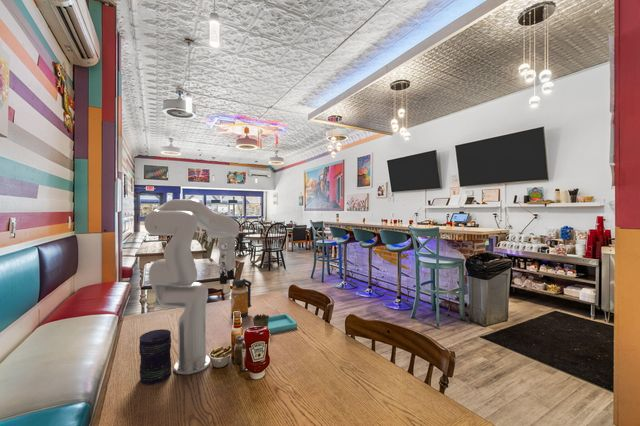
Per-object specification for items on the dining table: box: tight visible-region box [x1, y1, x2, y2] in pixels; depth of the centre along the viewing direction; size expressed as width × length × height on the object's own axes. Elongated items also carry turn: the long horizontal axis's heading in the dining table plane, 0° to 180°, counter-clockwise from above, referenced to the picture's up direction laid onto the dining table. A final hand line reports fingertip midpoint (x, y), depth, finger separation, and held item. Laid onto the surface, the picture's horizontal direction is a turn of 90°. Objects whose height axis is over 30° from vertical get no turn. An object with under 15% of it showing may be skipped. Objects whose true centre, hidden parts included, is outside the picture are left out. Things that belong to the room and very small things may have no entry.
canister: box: [230, 278, 253, 318], centre depth 163 cm, size 9×11×20 cm
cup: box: [252, 313, 270, 327], centre depth 139 cm, size 8×7×8 cm
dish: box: [268, 313, 298, 335], centre depth 148 cm, size 15×15×2 cm
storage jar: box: [138, 328, 172, 386], centre depth 104 cm, size 10×10×15 cm
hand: (227, 281), depth 144 cm, fingers open, 9 cm apart
